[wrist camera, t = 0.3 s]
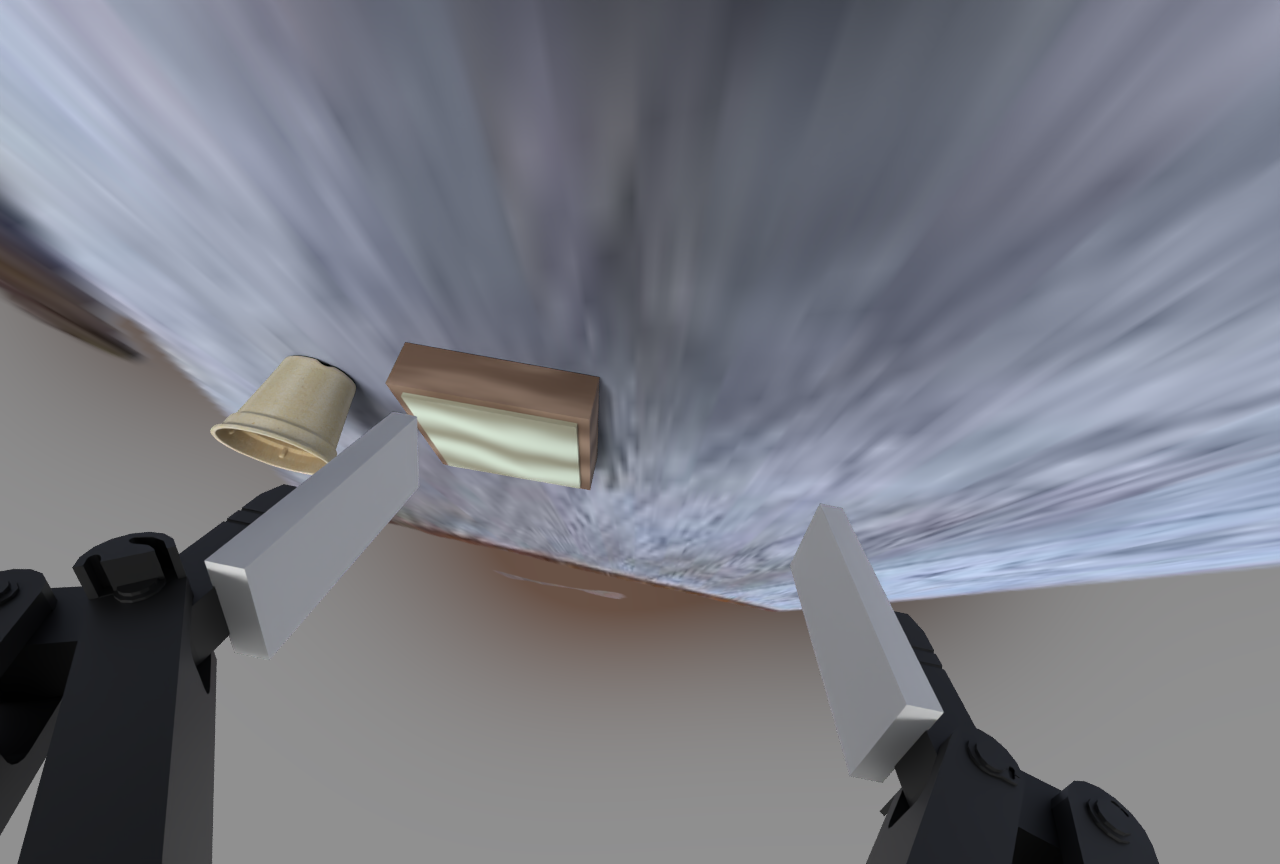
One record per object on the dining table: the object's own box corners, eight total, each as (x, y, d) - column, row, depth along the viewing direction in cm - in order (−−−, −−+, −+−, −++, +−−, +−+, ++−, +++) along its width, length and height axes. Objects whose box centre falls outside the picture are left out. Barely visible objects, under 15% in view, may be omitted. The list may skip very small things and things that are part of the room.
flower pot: (245, 354, 44) (191, 435, 40) (294, 331, 39) (238, 421, 35) (341, 405, 51) (303, 479, 47) (393, 391, 46) (355, 471, 42)
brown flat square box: (405, 342, 38) (383, 387, 36) (599, 377, 38) (588, 423, 36) (455, 431, 52) (442, 467, 50) (597, 456, 53) (589, 493, 50)
